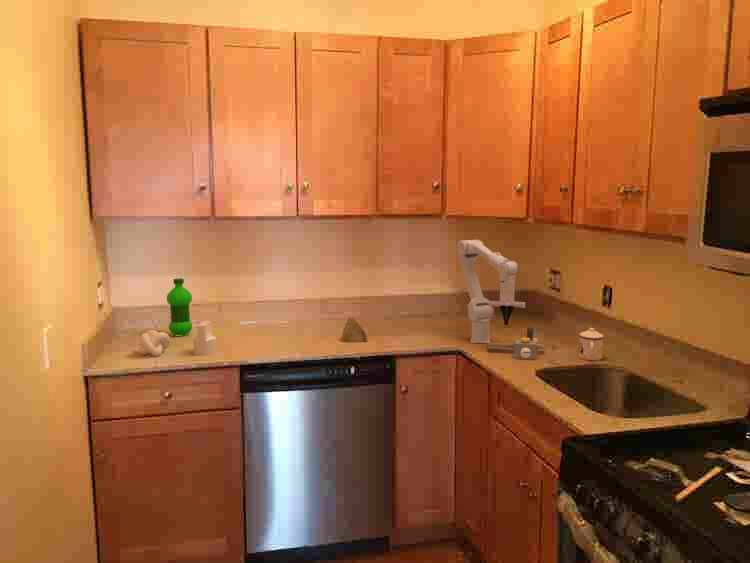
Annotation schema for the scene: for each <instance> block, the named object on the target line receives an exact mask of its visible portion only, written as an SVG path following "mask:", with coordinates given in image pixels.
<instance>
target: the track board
mask: <svg viewBox="0 0 750 563" xmlns="http://www.w3.org/2000/svg"><path fill="white" fill-rule="evenodd" d="M487 352H488V353H495V352H496V353H501V354H514V347H495V346H489V343H487ZM541 354H544V355H545V354H546V352H545V348H544V346H543V345H542V348H537V349H536V355H541Z"/></svg>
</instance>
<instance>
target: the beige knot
mask: <svg viewBox="0 0 750 563" xmlns="http://www.w3.org/2000/svg"><path fill="white" fill-rule="evenodd" d="M170 342H171V338H170V336H169V335H168V333H166V332H163V331H161V332H158V331H157V330H155V329H150V330H147V331H146V332H144V333H142V334H141V336H140V340H139V344H138V352H139V353H140V354H141V355H143V356H146V355H149V354H150V355H151V356H154V357H159V356H161V355H162V353H163V352H164V351H165V350H166V349H167V348H168V347H169V346H170Z"/></svg>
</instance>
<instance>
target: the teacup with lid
mask: <svg viewBox="0 0 750 563" xmlns="http://www.w3.org/2000/svg"><path fill="white" fill-rule="evenodd" d="M578 337H579V344H578V357H579V358H580V359H583V360H586V361H587V360H588V361H600V360H601V359H602V358H603V347H604V338H605V336H604V334H603V333H600V332H598V331H596V330H595V328H594V327H589V329H588V330H586V331H582V332H580V333H579V334H578Z"/></svg>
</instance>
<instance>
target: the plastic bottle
mask: <svg viewBox="0 0 750 563" xmlns="http://www.w3.org/2000/svg"><path fill="white" fill-rule="evenodd" d="M184 279H185V278H174V279H173V284H174V287H173V288H172V289H171V290H170V291H169V292H168V293H167V295H166V302H167V304H168V305H169V306H170V307H169V308H170V322H169V325H168V329H169V331H170V332H171V334H173V335H174V336H175V335H179V336H178V337H181V336H180V335H185V336H187V335H188V334H189V333H190V332H191V331H192V329H193V323H192V321H191V320H190V318H191V317H190V304H191V303H192V299H193V295H192V293H191V292H190V291H189V290H188V289H187V288H185V287H184V286H183V284H184V283H185V280H184ZM186 334H187V335H186Z"/></svg>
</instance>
